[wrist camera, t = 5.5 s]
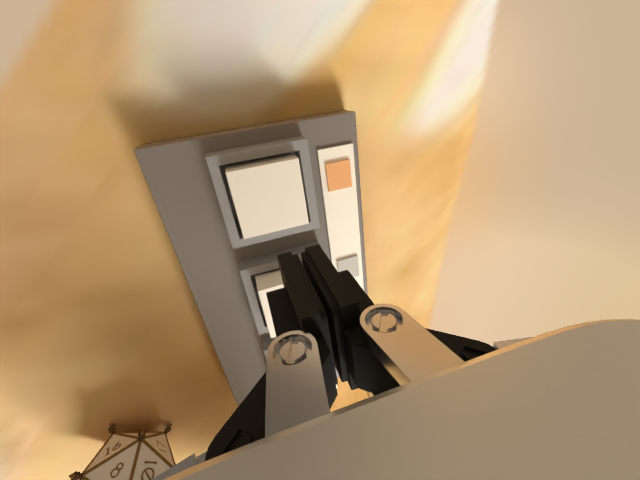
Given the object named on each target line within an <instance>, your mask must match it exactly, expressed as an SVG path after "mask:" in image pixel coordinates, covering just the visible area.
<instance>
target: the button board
mask: <svg viewBox="0 0 640 480" xmlns="http://www.w3.org/2000/svg"><path fill="white" fill-rule="evenodd" d="M134 152H135V155H136V157H137V160H138V162H139V164H140V167H141V169H142V172H143V174H144V177H145V179H146V182H147V184H148V187H149V189H150V191H151V194H152V196H153V199H154V201H155V204H156V206H157V209H158V211H159V214H160V216H161V218H162V221H163V223H164V226H165V228H166V231H167V233H168V236H169V238H170V241H171V243H172V245H173V248H174V250H175V253H176V255H177V258H178V260H179V263H180V265H181V268H182V270H183V272H184V275H185V277H186V280H187V282H188V285H189V287H190V290H191V292H192V295H193V297H194V299H195V302H196V304H197V307H198V309H199V312H200V314H201V317H202V319H203V322H204V324H205V326H206V329H207V331H208V334H209V336H210V339H211V341H212V344H213V346H214V348H215V351H216V353H217V356H218V358H219V361H220V363H221V366H222V368H223V371H224V373H225V375H226V378H227V380H228V383H229V385H230V388H231V390H232V393H233V395H234V398H235V400H236V402H237V405H238V404H241V403H242V402H243V400H244V399H245V398H246V396H247V395H248V394H249V392H250V391H251V390H252V389H253V387H254V386H255V385H256V383H257V382H258V381H259V380H260V378H261V377H262V376H263V374H264V373H265V372H266V365H267V351H268V347H269V346H270V344H271V342H272V341H273V340H274V339H276V338H277V337H274V338H271V337H270V333H269V330H268V326H267V322H266V319H265V315H264V312H263V308H262V305H261V301H260V297H259V294H258V290H257V285H256V279H255V276H257V275H260V274H264V273H268V272H272V271H275V270H279V269H280V268H279V263H278V259H277V255H279V254H283V253H287V252H291V253H292V255H294V254H297V255H298V257H299V259H300V261H301V263H302V258H301V252H305V248H306V247H310V246H314V245H318V244H319V245H320V247H321V248H322V249H323V251H324V252H325V254H326V255H327V257H328V258H329V260H330V261H331V262H332V264H333V265H334V267H335V268H336V270H337V271H338V272H341V271H344V270H348V271H349V272H350V273H351V274H352V276H353V277H354V278H355V280H356V281H357V282H358V284H359V285H360V286H361V288H362V289H363V290H364V292H365V293H366V294H367V295H368V292H367V278H366V263H365V248H364V234H363V219H362V204H361V190H360V175H359V160H358V146H357V131H356V116H355V112H354V111H347V110H343V111H337V112H331V113H325V114H319V115H313V116H307V117H302V118H296V119H290V120H284V121H278V122H272V123H266V124H261V125H255V126H249V127H243V128H237V129H231V130H225V131H220V132H214V133H208V134H202V135H196V136H190V137H184V138H179V139H173V140H167V141H161V142H155V143H149V144H143V145H140V146H139V147H137V148H136V149H134ZM287 153H293V154H294V155H295V156H296V157H298V158H299V164H300V170H301V176H302V183H303V189H304V195H305V201H306V208H307V214H308V220H309V224H305V225H301V226H296V227H292V228H288V229H284V230H280V231H276V232H272V233H268V234H263V235H259V236H255V237H251V238H247V239H244V238H243V234H242V231H241V227H240V223H239V220H238V216H237V213H236V209H235V205H234V202H233V198H232V195H231V191H230V187H229V184H228V180H227V177H226V173H225V165H230V164H235V163H241V162H246V161H251V160H256V159H261V158H266V157H272V156H277V155H282V154H287ZM335 368H336V367H335ZM336 375H337V377H339V374H338V372H337V370H336Z"/></svg>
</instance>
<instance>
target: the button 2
mask: <svg viewBox="0 0 640 480" xmlns="http://www.w3.org/2000/svg"><path fill="white" fill-rule="evenodd" d="M225 173H226V177H227V180H228V184H229V187H230V191H231V195H232V198H233V202H234V205H235V209H236V213H237V216H238V220H239V223H240V227H241V231H242V234H243V238H244V239H247V238H251V237H255V236H259V235H263V234H268V233H272V232H276V231H280V230H284V229H288V228H292V227H296V226H301V225H305V224H309V220H308V214H307V208H306V201H305V195H304V189H303V183H302V176H301V170H300V164H299V158H298V157H296V156H295V155H294V154H293V153H287V154H282V155H277V156H272V157H266V158H261V159H256V160H251V161H246V162H241V163H235V164H230V165H225Z"/></svg>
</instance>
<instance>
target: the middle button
mask: <svg viewBox="0 0 640 480" xmlns="http://www.w3.org/2000/svg"><path fill="white" fill-rule="evenodd" d="M302 265H303V264H302ZM255 279H256V285H257V290H258V294H259V297H260V301H261V305H262V308H263V312H264V315H265V319H266V322H267V326H268V330H269V333H270V337H271V338H274V337H276V333H275V329H274V325H273V320H272V316H271V312H270V308H269V304H268V299H267V295H266V292H270V291H273V290H277V289H280V288H284V285H283V281H282V276H281V272H280V269H279V270H275V271H272V272H268V273H264V274H260V275H257V276H255Z"/></svg>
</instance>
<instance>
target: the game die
mask: <svg viewBox="0 0 640 480" xmlns="http://www.w3.org/2000/svg"><path fill="white" fill-rule="evenodd" d="M171 425H172V424H171ZM171 425H168V426H167V427H166V428H165V431H164V432H145V431H144V430H142V431H141V432H116V431H115V430H116V428H115V426H114V425H112V424H110V427H109V429H108V430H109V431H110V432H109V433H111V436H110V437H109V439H108V440H107V441H106V442H105V444H104V445H103V446H102V448H101V449H100V450H99V452H98V453H97V454H96V456H95V457H94V458H93V459H92V461H91V462H90V463H89V465H88V466H87V467H86V469H85V470H84V471H83V472H82V474H81V473H80V472H77V471H76V472H75V473H73V474H71V475H69V477H70V478H71V480H78V479H79V480H151V479H153V478H154V477H156V476H158V475H159V474H161V473H163V472H164V471H166V470H168V469H169V468H171V467H173V466H174V465H176V464H175V461H174V458H173V455H172V452H171V448H170V445H169V442H168V439H167V436H166V434H167V433H168V432H169V431H170V430H171Z"/></svg>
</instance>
